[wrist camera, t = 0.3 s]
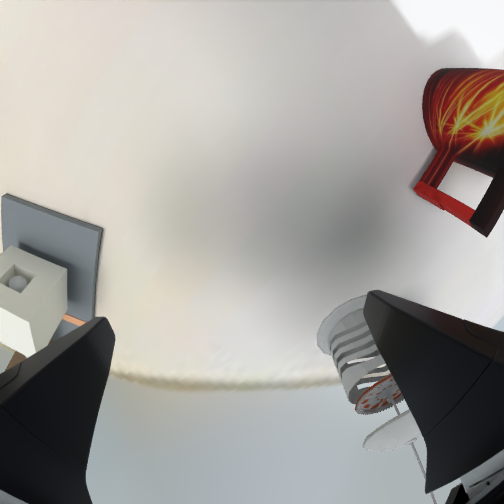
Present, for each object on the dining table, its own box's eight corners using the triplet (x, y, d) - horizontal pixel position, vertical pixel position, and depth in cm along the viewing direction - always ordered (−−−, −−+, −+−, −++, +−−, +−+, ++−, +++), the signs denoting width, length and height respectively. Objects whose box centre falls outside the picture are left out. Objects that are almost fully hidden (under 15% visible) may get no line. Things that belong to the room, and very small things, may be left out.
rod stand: (6, 193, 18) (-62, 239, 9) (102, 228, 21) (44, 300, 12) (23, 341, 26) (-4, 394, 18) (94, 373, 30) (75, 434, 21)
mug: (404, 190, 22) (500, 252, 11) (425, 52, 15) (530, 48, 5) (464, 206, 23) (541, 259, 13) (485, 91, 17) (571, 111, 6)
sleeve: (11, 244, 18) (-32, 286, 12) (67, 269, 20) (28, 322, 14) (15, 285, 20) (-19, 329, 14) (67, 309, 22) (38, 362, 16)
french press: (299, 336, 29) (362, 563, 7) (384, 267, 25) (524, 484, 4) (343, 366, 33) (403, 535, 11) (414, 311, 29) (511, 473, 7)
